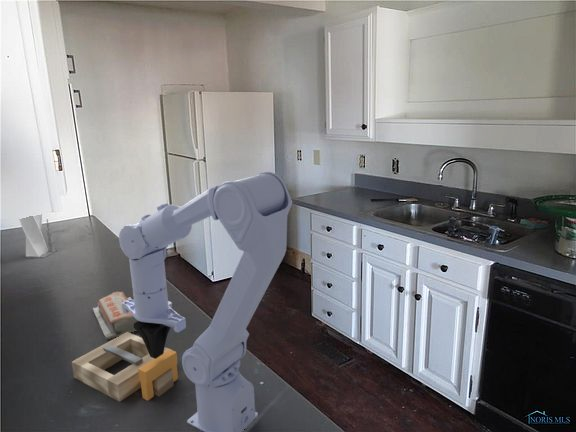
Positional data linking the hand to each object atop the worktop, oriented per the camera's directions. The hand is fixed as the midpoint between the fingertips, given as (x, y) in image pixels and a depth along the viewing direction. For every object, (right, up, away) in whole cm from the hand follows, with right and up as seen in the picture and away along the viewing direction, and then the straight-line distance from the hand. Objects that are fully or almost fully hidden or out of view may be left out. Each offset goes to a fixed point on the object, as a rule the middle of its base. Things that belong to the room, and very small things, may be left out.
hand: (157, 355), depth 80 cm
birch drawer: (-9, -6, +7) cm, 13 cm away
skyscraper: (-66, +11, +77) cm, 102 cm away
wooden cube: (0, -7, +2) cm, 8 cm away
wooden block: (0, -7, +2) cm, 7 cm away
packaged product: (-18, -1, +30) cm, 35 cm away
